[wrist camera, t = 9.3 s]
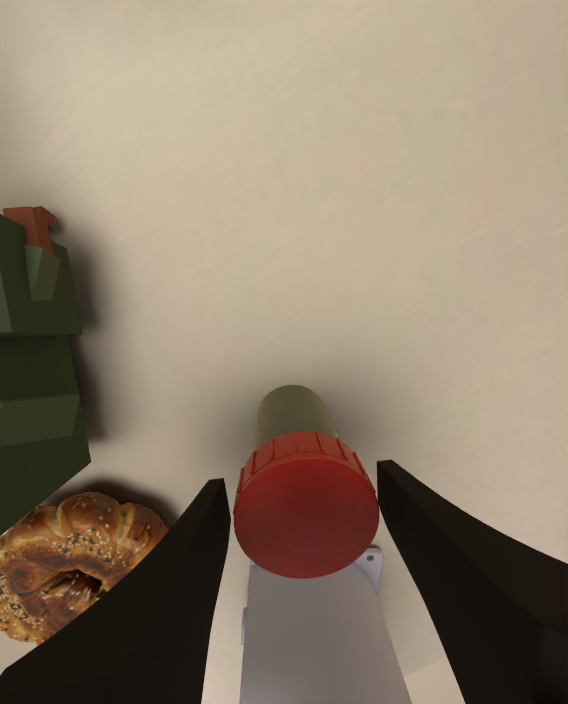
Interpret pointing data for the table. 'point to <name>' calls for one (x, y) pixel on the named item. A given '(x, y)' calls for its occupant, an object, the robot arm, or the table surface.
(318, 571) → the lid
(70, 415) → the toy robot
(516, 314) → the table surface
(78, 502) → the brown braided bread ring
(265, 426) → the jar
